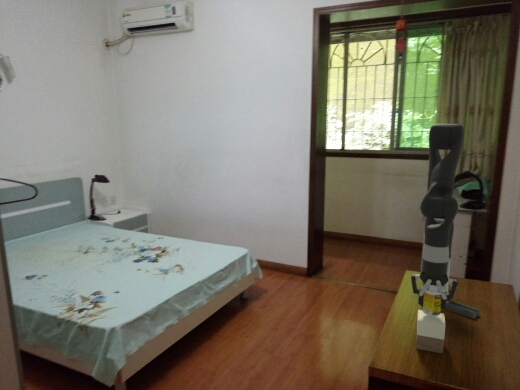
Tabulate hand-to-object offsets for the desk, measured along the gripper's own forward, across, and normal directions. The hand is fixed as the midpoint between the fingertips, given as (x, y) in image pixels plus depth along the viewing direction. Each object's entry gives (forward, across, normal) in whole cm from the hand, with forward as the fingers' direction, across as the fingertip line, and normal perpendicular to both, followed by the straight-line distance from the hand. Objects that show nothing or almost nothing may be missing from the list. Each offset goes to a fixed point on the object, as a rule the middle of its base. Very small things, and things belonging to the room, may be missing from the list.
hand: (431, 307), depth 128 cm
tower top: (+8, 0, 0) cm, 8 cm away
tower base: (+13, 0, 0) cm, 13 cm away
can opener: (+14, -9, -30) cm, 34 cm away
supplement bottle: (+2, 0, 0) cm, 2 cm away
